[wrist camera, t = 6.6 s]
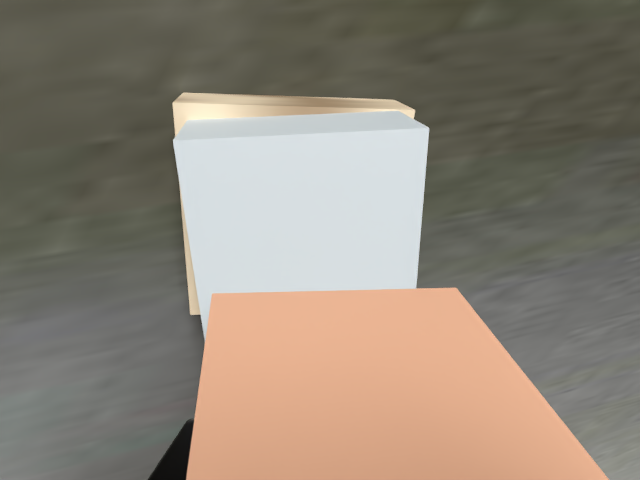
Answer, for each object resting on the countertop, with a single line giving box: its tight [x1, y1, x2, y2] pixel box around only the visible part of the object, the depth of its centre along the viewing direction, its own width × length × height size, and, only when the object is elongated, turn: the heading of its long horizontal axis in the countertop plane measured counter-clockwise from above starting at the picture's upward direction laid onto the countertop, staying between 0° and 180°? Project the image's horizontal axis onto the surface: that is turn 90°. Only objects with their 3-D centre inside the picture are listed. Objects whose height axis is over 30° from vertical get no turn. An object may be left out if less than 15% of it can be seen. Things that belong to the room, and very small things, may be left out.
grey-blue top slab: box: [173, 111, 429, 340], centre depth 15 cm, size 7×7×3 cm
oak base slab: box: [173, 93, 415, 315], centre depth 18 cm, size 8×8×3 cm
